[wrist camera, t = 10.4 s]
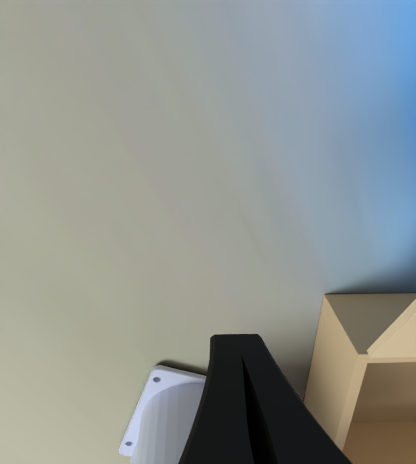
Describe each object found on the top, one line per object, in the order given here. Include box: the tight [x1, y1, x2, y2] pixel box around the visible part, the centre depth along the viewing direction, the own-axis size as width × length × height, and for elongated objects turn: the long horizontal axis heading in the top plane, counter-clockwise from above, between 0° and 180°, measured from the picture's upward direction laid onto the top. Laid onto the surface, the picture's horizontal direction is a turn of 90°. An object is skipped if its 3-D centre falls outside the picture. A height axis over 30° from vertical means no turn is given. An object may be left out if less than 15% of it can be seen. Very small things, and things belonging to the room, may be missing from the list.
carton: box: [304, 293, 416, 464], centre depth 23 cm, size 12×12×5 cm
